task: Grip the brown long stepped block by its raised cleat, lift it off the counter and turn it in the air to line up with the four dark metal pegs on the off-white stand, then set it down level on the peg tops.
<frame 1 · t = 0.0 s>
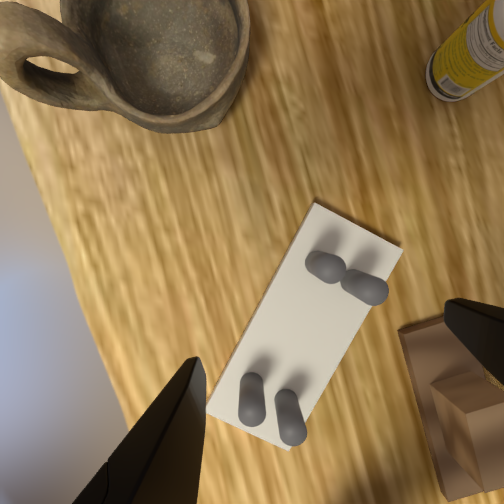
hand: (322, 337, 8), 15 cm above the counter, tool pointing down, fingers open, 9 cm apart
peg stand: (298, 328, 24), on the counter
supplement bottle: (448, 75, 22), on the counter
bowl: (164, 83, 22), on the counter
brown long stepped block: (446, 401, 26), on the counter
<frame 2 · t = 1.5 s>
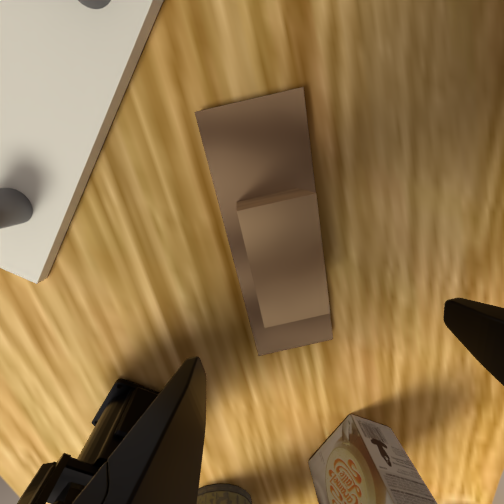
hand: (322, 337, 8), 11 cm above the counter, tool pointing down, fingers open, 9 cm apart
peg stand: (25, 90, 14), on the counter
thermos: (219, 502, 30), on the counter
coffee box: (347, 441, 28), on the counter
brown long stepped block: (273, 241, 19), on the counter
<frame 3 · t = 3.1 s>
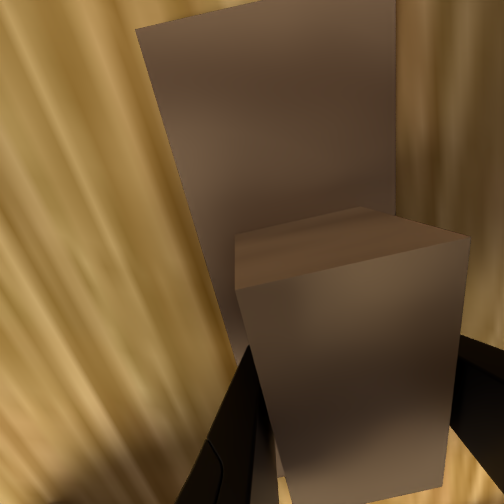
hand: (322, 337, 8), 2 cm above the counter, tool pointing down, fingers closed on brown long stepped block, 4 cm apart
brown long stepped block: (301, 296, 11), on the counter, touching gripper
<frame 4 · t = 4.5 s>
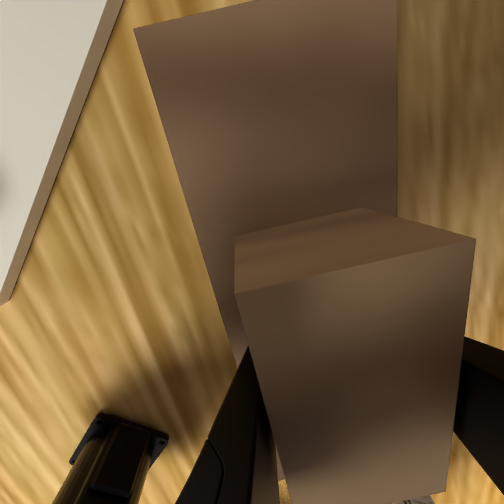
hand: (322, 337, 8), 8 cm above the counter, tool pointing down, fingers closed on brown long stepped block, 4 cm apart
brown long stepped block: (302, 298, 11), point 5 cm above the counter, touching gripper
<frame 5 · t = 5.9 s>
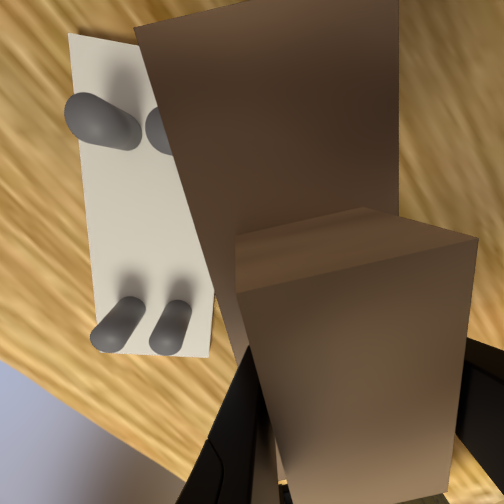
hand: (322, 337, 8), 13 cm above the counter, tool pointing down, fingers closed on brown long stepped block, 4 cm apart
peg stand: (158, 230, 19), on the counter
thermos: (396, 477, 33), on the counter
brown long stepped block: (303, 297, 11), point 10 cm above the counter, touching gripper
when the fingers open (8 cm above the counter, at t = 7.9 s): brown long stepped block stays where it is, resting on peg stand.
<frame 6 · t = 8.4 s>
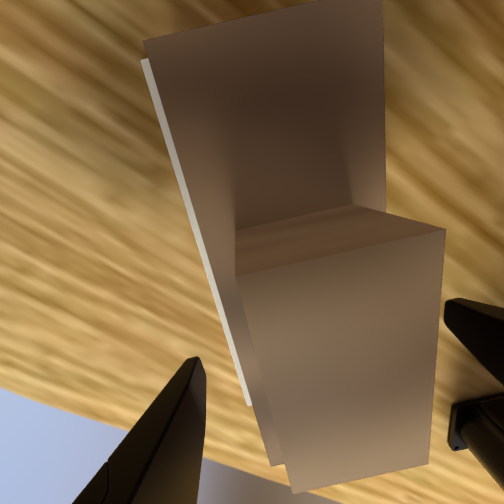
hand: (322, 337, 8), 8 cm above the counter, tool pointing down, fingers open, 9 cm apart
peg stand: (279, 256, 16), on the counter
brown long stepped block: (298, 290, 11), point 5 cm above the counter, touching peg stand
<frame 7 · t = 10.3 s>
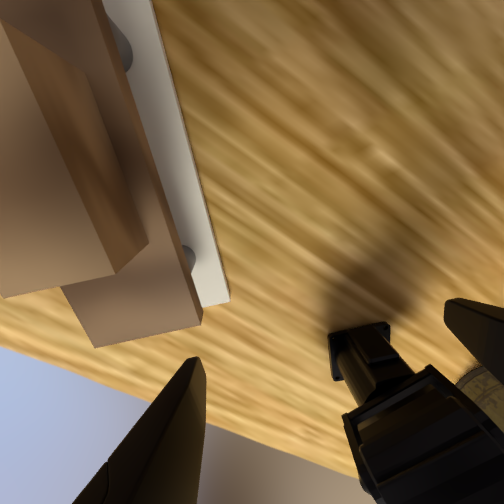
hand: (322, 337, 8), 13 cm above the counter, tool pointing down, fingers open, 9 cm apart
peg stand: (130, 175, 18), on the counter
thermos: (481, 387, 30), on the counter
brown long stepped block: (93, 176, 13), point 5 cm above the counter, touching peg stand
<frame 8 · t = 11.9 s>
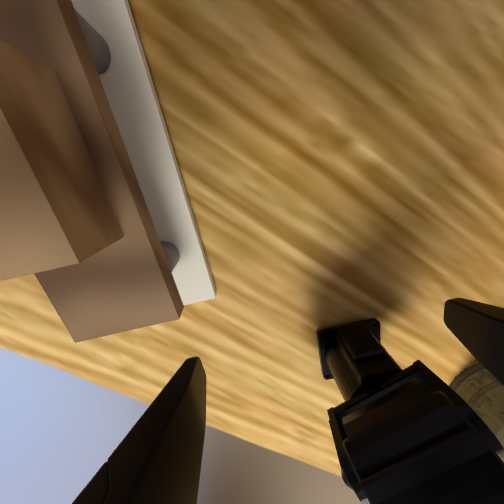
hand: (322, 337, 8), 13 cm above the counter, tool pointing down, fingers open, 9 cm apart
peg stand: (113, 173, 18), on the counter
thermos: (478, 386, 29), on the counter
brown long stepped block: (70, 172, 13), point 5 cm above the counter, touching peg stand
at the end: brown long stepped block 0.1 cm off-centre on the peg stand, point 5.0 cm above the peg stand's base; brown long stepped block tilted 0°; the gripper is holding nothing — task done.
